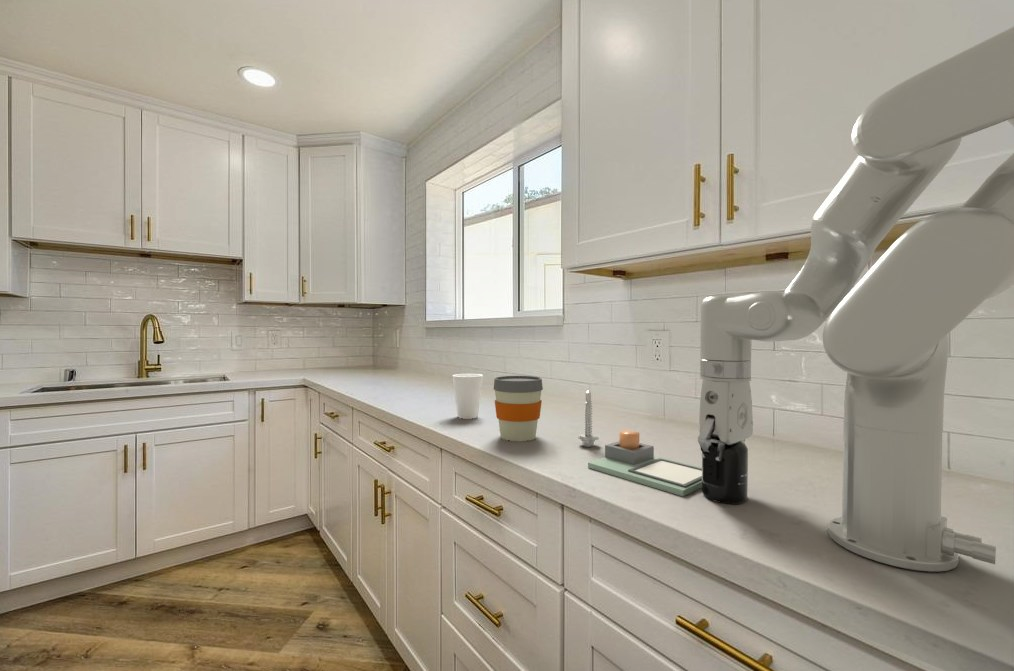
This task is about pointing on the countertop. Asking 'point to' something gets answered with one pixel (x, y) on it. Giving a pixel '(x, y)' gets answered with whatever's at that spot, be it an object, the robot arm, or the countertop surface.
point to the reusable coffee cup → (518, 406)
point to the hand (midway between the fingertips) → (724, 477)
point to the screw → (588, 424)
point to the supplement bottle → (730, 475)
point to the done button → (629, 439)
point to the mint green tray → (649, 469)
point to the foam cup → (467, 394)
